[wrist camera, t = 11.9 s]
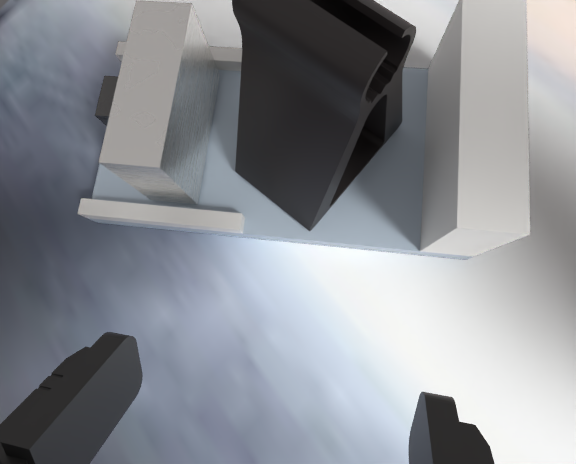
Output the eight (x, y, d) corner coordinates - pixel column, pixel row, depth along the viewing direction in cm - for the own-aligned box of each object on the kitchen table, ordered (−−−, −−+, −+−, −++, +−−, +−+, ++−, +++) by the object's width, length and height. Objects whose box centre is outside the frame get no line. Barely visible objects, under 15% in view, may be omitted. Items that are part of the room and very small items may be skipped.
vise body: (469, 82, 26) (526, -6, 19) (465, 259, 23) (530, 234, 16) (133, 62, 28) (72, -23, 21) (97, 222, 25) (14, 186, 18)
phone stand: (327, 72, 25) (337, -137, 14) (401, 125, 24) (482, -55, 13) (235, 173, 24) (162, 39, 13) (309, 233, 23) (302, 146, 11)
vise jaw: (219, 74, 26) (191, 3, 20) (197, 204, 24) (159, 167, 18) (147, 70, 26) (99, -1, 20) (120, 197, 24) (58, 158, 18)
